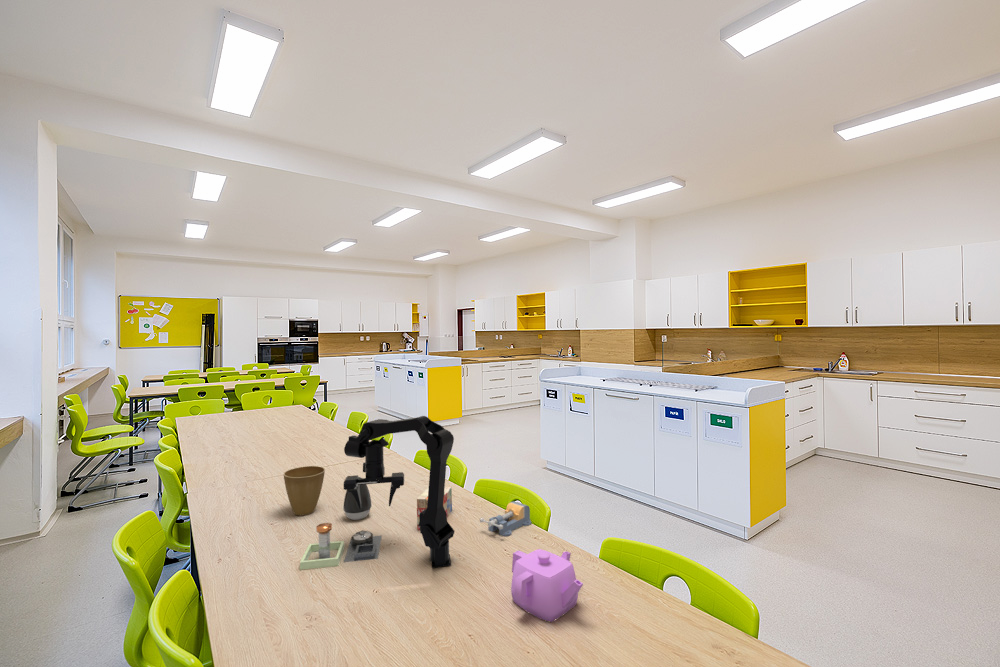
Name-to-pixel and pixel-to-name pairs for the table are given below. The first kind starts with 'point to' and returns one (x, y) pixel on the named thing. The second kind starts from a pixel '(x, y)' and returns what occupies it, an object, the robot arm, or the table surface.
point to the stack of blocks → (423, 501)
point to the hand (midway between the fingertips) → (375, 507)
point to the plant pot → (304, 488)
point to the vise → (510, 519)
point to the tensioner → (363, 547)
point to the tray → (321, 562)
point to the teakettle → (544, 583)
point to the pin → (324, 540)
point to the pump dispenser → (352, 507)
